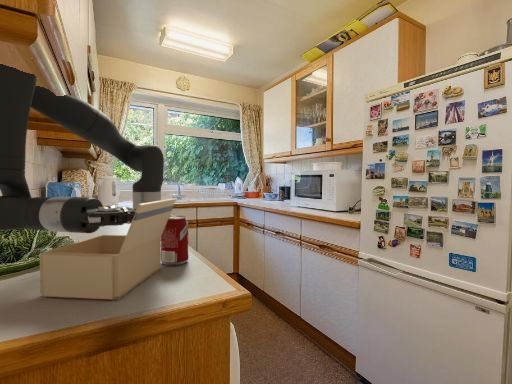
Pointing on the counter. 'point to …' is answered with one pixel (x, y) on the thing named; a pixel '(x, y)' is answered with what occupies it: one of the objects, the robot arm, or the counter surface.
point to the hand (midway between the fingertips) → (151, 217)
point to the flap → (147, 223)
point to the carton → (97, 268)
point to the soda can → (175, 241)
